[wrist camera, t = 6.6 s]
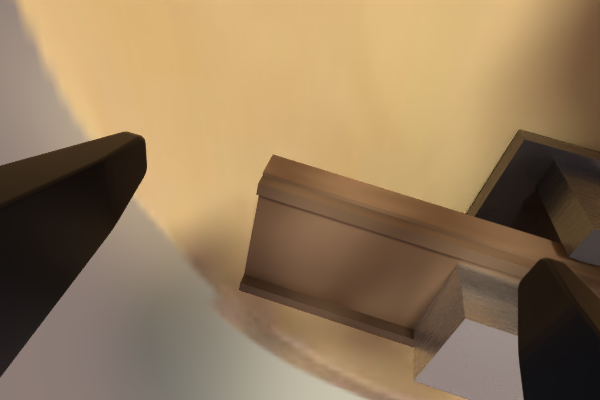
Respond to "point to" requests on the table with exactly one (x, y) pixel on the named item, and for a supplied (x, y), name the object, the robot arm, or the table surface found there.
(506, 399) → the block
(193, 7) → the table surface
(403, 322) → the beam
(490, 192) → the stand
